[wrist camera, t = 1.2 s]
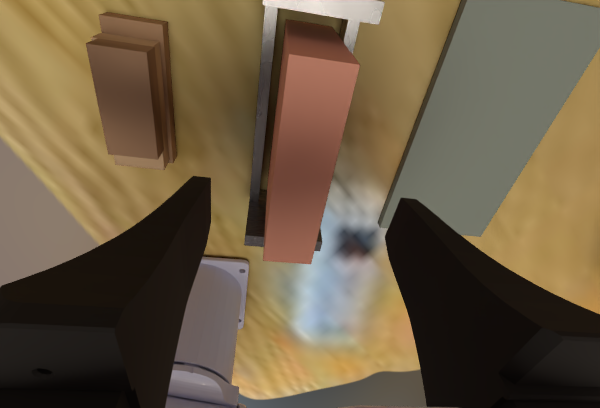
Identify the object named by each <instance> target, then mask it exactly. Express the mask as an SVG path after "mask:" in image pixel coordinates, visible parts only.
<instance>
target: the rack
mask: <svg viewBox="0 0 600 408" xmlns="http://www.w3.org/2000/svg"><path fill="white" fill-rule="evenodd" d="M384 3H385V2H384V1H381V0H263V5H265V14H264V27H263V39H262V52H261V64H260V77H259V89H258V102H257V114H256V127H255V139H254V152H253V164H252V177H251V189H250V201H249V209H248V217H247V225H246V233H245V244H244V245H247V246H260V247H264V236H265V218H266V201H267V190H260V181H261V171H262V161H263V150H264V140H265V130H266V120H267V110H268V100H269V90H270V80H271V70H272V60H273V50H274V40H275V30H276V20H277V10H278V8H284V9H289V10H295V11H301V12H307V13H313V14H319V15H325V16H330V17H336V18H342V19H343V21H342V26H341V31H340V36H339V37H340V38H341V40H342V41H343V42H344V44H345V45H346V47H347V48H348V49H349V51H350V52H351V53H352V54H353V50H354V46H355V41H356V37H357V33H358V28H359V24H360V22H365V23H371V24H377V25H379V22H380V19H381V15H382V11H383V7H384ZM321 245H322V237H321V230H320V229H319V234H318V238H317V242H316V246H315V250H314V251H320V249H321Z"/></svg>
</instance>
